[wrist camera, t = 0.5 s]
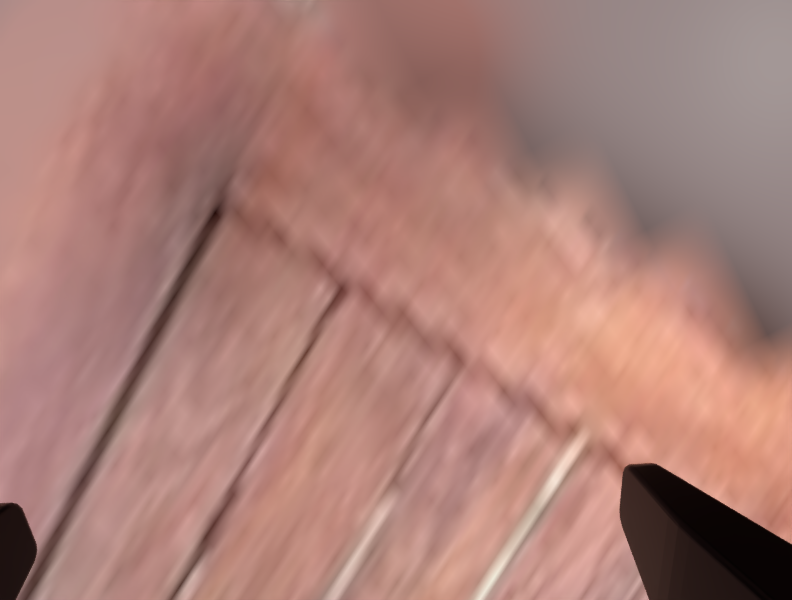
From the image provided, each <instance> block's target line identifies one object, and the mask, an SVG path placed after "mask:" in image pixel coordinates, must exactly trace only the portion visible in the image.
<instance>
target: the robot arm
mask: <svg viewBox="0 0 792 600" xmlns="http://www.w3.org/2000/svg"><path fill="white" fill-rule="evenodd" d="M620 520H621V524H622V527H623V530H624V533H625V536H626V538H627V541H628V544H629V546H630V549H631V552H632V555H633V557H634V560H635V563H636V565H637V568H638V571H639V573H640V576H641V579H642V582H643V584H644V587H645V590H646V592H647V595H648V598H649V600H792V544H790V543H789V542H787V541H785V540H784V539H782V538H780V537H778V536H777V535H775V534H773V533H772V532H770V531H768V530H767V529H765V528H763V527H762V526H760V525H758V524H757V523H755V522H753V521H752V520H750V519H748V518H747V517H745V516H743V515H741V514H740V513H738V512H736V511H735V510H733V509H731V508H730V507H728V506H726V505H725V504H723V503H721V502H720V501H718V500H716V499H715V498H713V497H711V496H710V495H708V494H706V493H704V492H703V491H701V490H699V489H698V488H696V487H694V486H693V485H691V484H689V483H688V482H686V481H684V480H683V479H681V478H679V477H678V476H676V475H674V474H673V473H671V472H669V471H667V470H666V469H664V468H662V467H661V466H659V465H657V464H654V463H643V464H630V465H628V466H626V467H625V469H624V471H623V477H622V488H621V498H620ZM36 554H37V544H36V541H35V539H34V536H33V534H32V531H31V529H30V526H29V524H28V521H27V519H26V516H25V514H24V512H23V510H22V508H21V507H20V506H19V505H18V504H15V503H0V600H16V598H17V596H18V594H19V592H20V590H21V588H22V586H23V584H24V582H25V580H26V578H27V576H28V574H29V572H30V570H31V568H32V566H33V564H34V561H35V558H36Z"/></svg>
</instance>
